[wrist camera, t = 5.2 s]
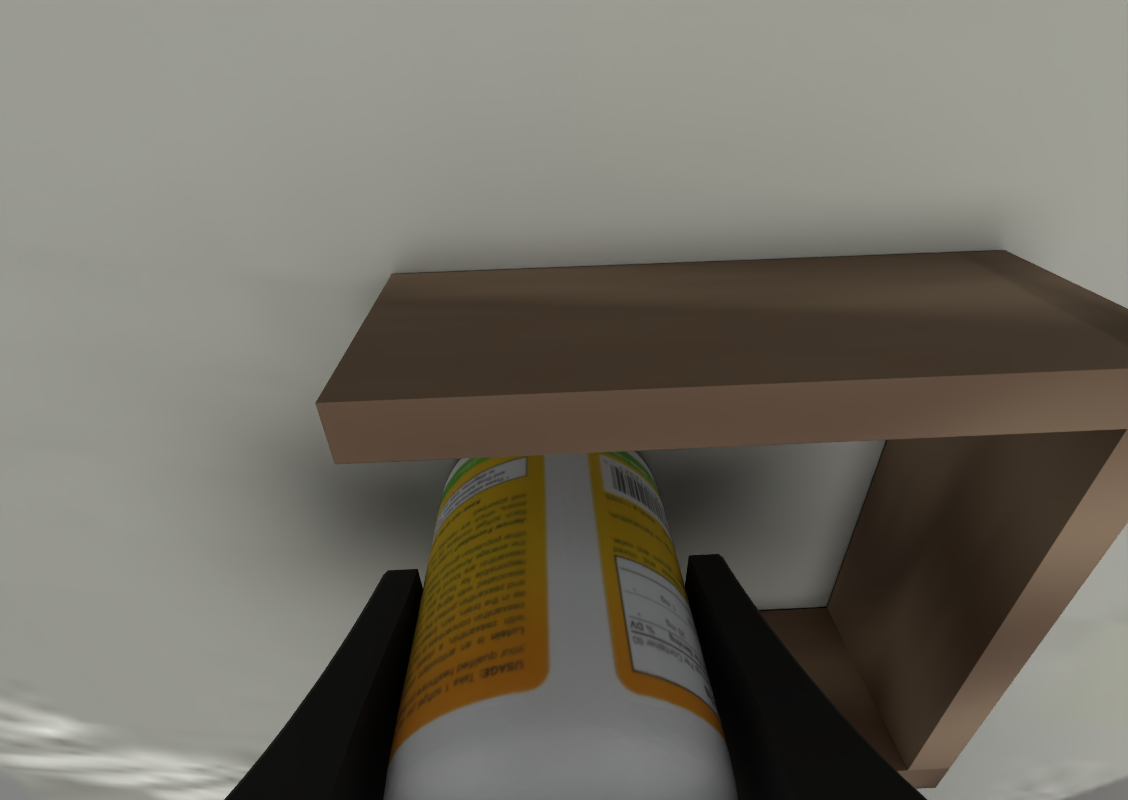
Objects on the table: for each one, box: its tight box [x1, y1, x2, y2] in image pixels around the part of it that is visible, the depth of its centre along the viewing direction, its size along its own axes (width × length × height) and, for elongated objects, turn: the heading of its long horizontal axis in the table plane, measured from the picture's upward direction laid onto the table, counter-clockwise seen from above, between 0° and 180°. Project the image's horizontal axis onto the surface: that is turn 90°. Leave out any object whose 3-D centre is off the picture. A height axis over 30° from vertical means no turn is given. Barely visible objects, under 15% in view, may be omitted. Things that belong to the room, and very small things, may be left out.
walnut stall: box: [316, 250, 1128, 789], centre depth 12 cm, size 12×12×4 cm
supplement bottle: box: [383, 451, 738, 800], centre depth 10 cm, size 5×5×10 cm
